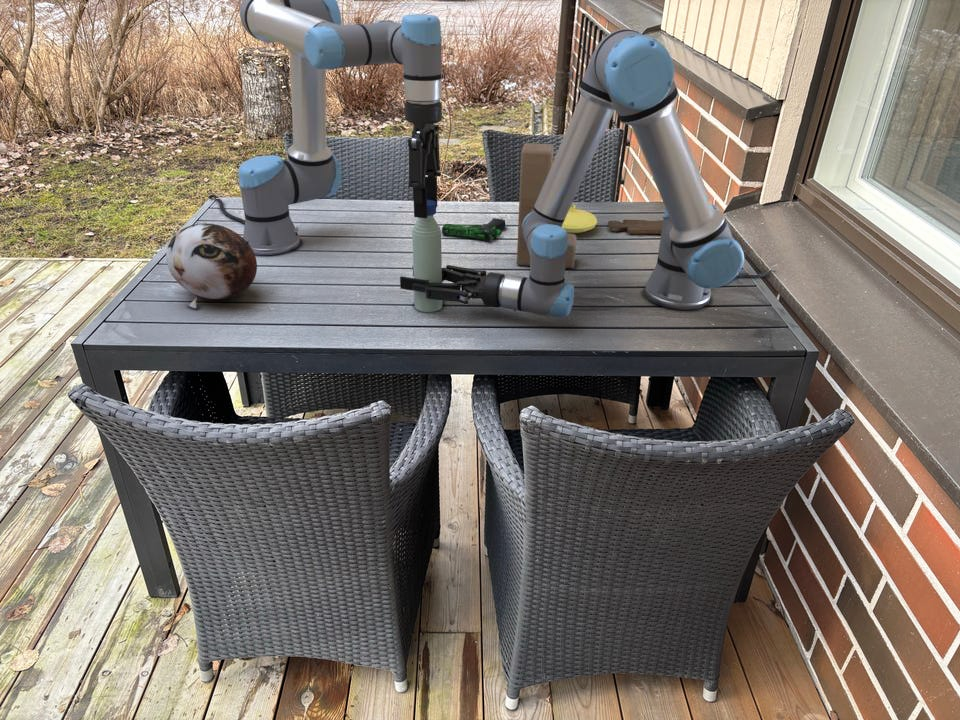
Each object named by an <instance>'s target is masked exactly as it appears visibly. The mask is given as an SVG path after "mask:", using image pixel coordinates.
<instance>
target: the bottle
mask: <svg viewBox="0 0 960 720" xmlns="http://www.w3.org/2000/svg"><path fill="white" fill-rule="evenodd" d="M411 240H412V241H411V243H412V273H413V272H414V277H413V278H415V279H422V280H429V283H443V281H442V268H443V267H442V265H443V264H442V262H443V261H442V259H443V257H442V256H443V254H442V228H441V227H440V225H439V223H438V222H437V220H436V219H435V217H434V215H431V216H427V218H418V217H417V220H416V222H415V223H414V225H413V227H412V230H411ZM413 295H414V309H416V310H417V311H419V312H423V313H433V312H437V311H439V310H441V309H442V308H443V300H435V299H427V298H426V293H425V292H419V291H413Z"/></svg>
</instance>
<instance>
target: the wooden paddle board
mask: <svg viewBox="0 0 960 720" xmlns="http://www.w3.org/2000/svg"><path fill="white" fill-rule="evenodd" d="M607 224H608V229H609V231H610V232H613V233H615V232H616V233H617V232H623V231H627V234H629V235H641V234H655V235H656V234H657V235H659V234H660V235H661V232H662V225H663V219H660V220H657V219H656V220H649V219H648V220H647V219H623V220H622V222H621V221H619V220H615V219H614V220H608V221H607Z"/></svg>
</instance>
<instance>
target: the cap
mask: <svg viewBox="0 0 960 720" xmlns="http://www.w3.org/2000/svg"><path fill="white" fill-rule="evenodd" d="M436 214H437V207H436V202H435V201H432V200H427V216H431V215H433V216H434V215H436Z"/></svg>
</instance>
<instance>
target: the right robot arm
mask: <svg viewBox="0 0 960 720" xmlns="http://www.w3.org/2000/svg"><path fill="white" fill-rule="evenodd" d="M674 79H675V65H674V62H673V59H672V56H671V55H670V52H669V51H668V49H667V48H666V47H665V46H664V44H662V43H661V42H660V41H658V40H657V38H654V37H651V36H650V35H644V33H643V34H642V33H640V32H639V31H637V30H635V29H630V28H622V29H617V30H614V31H612V32H610V33H608V34H607V35H606V36H605V37H603V38H602V39H601V40H600V41H599V42H598V44H597V45H596V46H595V48H594V51H593V53H592V55H591V58H590V59H589V61H588V65H587V66H586V69H585V73H584V75H583V77H582V79H581V82H580V84H579V87H578V90H579V92H580V97H579V100H578V102H577V104H576V106H575V110H574V111H573V113H572V116H571V118H570V121H569V123H568V125H567V128H566V130H565V133H564V135H563V137H562V139H561V142H560V143H559V147H558V149H557V151H556V154H555V156H554V157H553V163H552V165H551V168H550V170H549V172H548V175H547V177H546V179H545V182H544V184H543V186H542V189H541V191H540V193H539V196H538V198H537V201H536V203H535V205H534V208H533V210H532V212H531V213H529V214H528V215H527V216H526V217H525V218H524V220H523V223H522V235H523V237H524V240H525V242H526V245H527V248H528V251H529V254H530V266H529V277H526V276H522V275H521V276H520V275H513V274H507V275H505V274H504V273H499V272H492V271H491V272H488V273H487V270H484V269H483V270H482V269H481V270H480V269H472V268H467V267H463V266H457V265H451V264H447V265H446V266H445V267H442V283H429V280H422V279H415V278H414V272H413V271H412V277H408V276H400V277H399V284H400V285H399V286H400V289H402V290H406V291H407V290H408V291H413V292H414V291H419V292H425V293H426V298H427V299H435V300H442V302H451V303H459V304H461V305H468V304H469V302H470V301H469V300H471V299H472V300H478V299H479V300H481V302H482V304H483V305H484V306H486V307H492V308H497V309H498V308H500V307H501V308H502V309H506V310H511V311H513V312H517V311H518V312H523V313H528V314H529V313H530V314H534V315H541V316H546V317H554V318H566V317H568V316H569V315H570V313H571V312H572V308H573V305H574V299H575V287H574V285H573V284H572V283H568V282H566V277H565V276H566V275H565V274H566V268H565V266H566V255H567V249H568V243H567V238H568V234H567V231H566V230H565V229H564V228H561V227H562V225H563V222H564V220H565V218H566V215H567V213H568V211H569V209H570V207H571V204H572V205H573V202H574V200H575V198H576V195H577V193H578V191H579V189H580V187H581V185H582V182H583V180H584V178H585V176H586V174H587V172H588V169H589V167H590V165H591V163H592V161H593V158H594V156H595V154H596V152H597V150H598V147H599V145H600V143H601V141H602V138H603V137H604V134H605V133H606V130H607V128H608V126H609V123H610V121H611V119H612V117H613V115H614V112H616V114H617V117H618V119H619V122H620V123H621V124H623V125H627V126H630V127H631V129H632V131H633V133H634V136H635V139H636V141H637V144H638V146H639V149H640V150H641V153H642V155H643V158H644V160H645V162H646V164H647V167H648V169H649V171H650V175H651V177H652V179H653V181H654V184H655V186H656V188H657V191H658V194H659V196H660V198H661V200H662V203H663V206H664V208H665V209H664V214H663V216H662V220H663V225H662V232H661V234H660V240H659V245H658V252H657V261H656V265H655V266H654V268H653V270H652V272H651V274H650V275H649V278H648V279H647V282H646V284H645V287H644V295H645V297H646V298H647V300H649V301H650V302H652V303H654V304H655V305H658V306H659V307H663V308H667V309H672V310H678V311H693V310H698V309H701V308H705V307H706V306H707V305H708V304H709V303H710V299H711V295H712V293H711V289H718V288H721V287H724V286H725V285H727V284H729V283H730V282H732V281H733V280H735V278H763V277H766V276H767V275H768V274H769V273H768V272H767V271H766V270H764V271H763V272H759V273H756V274H757V275H749V273H750V272H741V270H742V268H743V267H744V264H745V263H744V262H745V253H744V250H743V247H742V246H741V244H740V243H739V241H737V240H735V238H734V237H733V234H732V232H731V229H730V227H729V224H728V221H727V217H726V216H725V214H724V212H723V211H722V210H720V209H719V208H718V206H717V205H716V204H713V203H712V201H711V199H710V196H709V193H708V190H707V188H706V186H705V183H704V180H703V178H702V175H701V173H700V170H699V167H698V165H697V162H696V160H695V156H694V154H693V151H692V149H691V146H690V144H689V141H688V138H687V136H686V133H685V130H684V127H683V125H682V123H681V120H680V118H679V117H680V116H679V115H678V112H677V109H676V107H675V104H676V101H677V100H678V98H679V96H680V95H679V91H678V88H677V84H676V82H675V80H674ZM444 281H448V282H444Z"/></svg>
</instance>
